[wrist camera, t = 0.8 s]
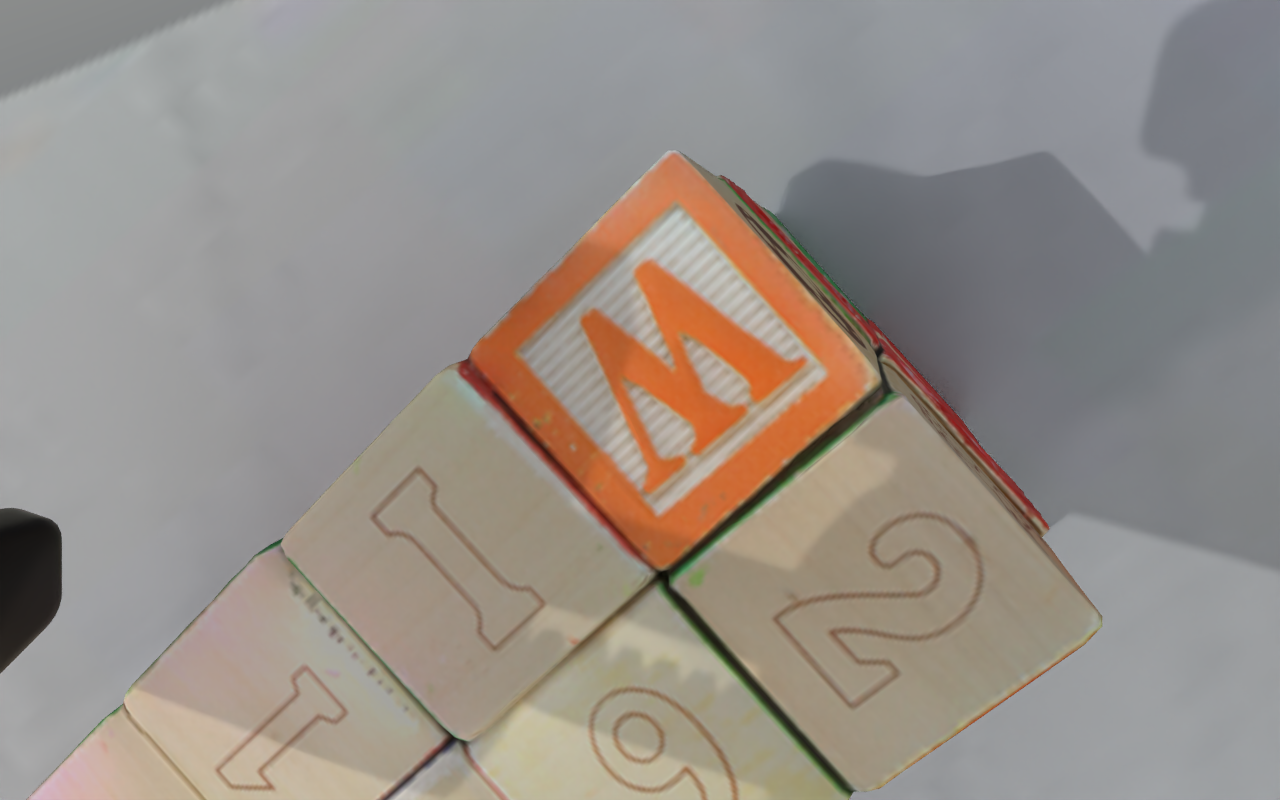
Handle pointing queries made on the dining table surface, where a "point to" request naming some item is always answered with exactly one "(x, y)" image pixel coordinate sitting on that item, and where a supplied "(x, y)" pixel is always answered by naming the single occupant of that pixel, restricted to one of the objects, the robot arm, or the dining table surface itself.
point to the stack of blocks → (622, 559)
